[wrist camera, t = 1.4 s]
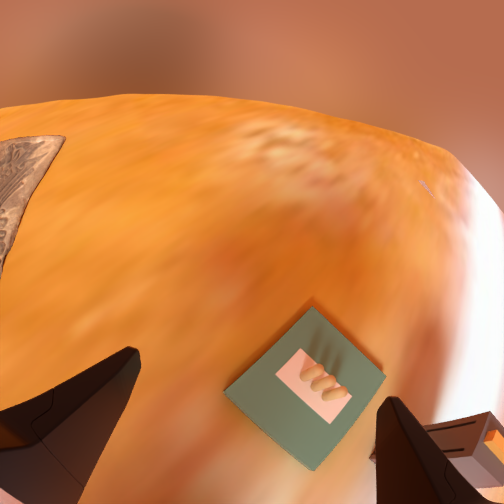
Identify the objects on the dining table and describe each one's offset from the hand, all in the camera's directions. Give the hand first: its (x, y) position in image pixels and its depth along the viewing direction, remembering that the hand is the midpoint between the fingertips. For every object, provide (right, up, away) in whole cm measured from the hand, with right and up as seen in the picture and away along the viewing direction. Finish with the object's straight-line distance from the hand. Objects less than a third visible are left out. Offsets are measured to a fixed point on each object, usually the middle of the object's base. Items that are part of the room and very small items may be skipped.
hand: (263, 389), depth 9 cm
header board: (+5, -7, +14) cm, 16 cm away
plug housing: (+13, -15, +10) cm, 23 cm away
